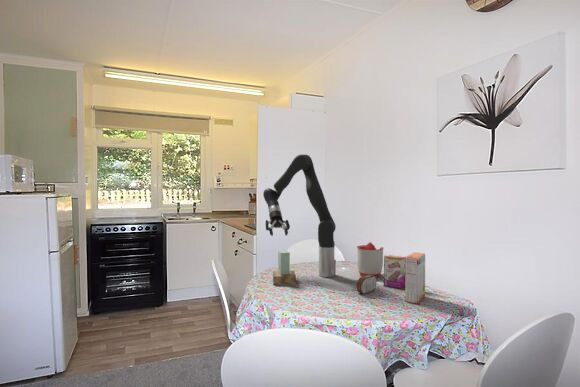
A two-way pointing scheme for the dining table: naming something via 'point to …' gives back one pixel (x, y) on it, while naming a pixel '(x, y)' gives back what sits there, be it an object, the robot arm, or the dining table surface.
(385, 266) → the candy bar box
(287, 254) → the green pillar
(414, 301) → the cracker box
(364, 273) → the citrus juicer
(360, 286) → the tin
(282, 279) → the wooden block
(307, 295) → the dining table surface
